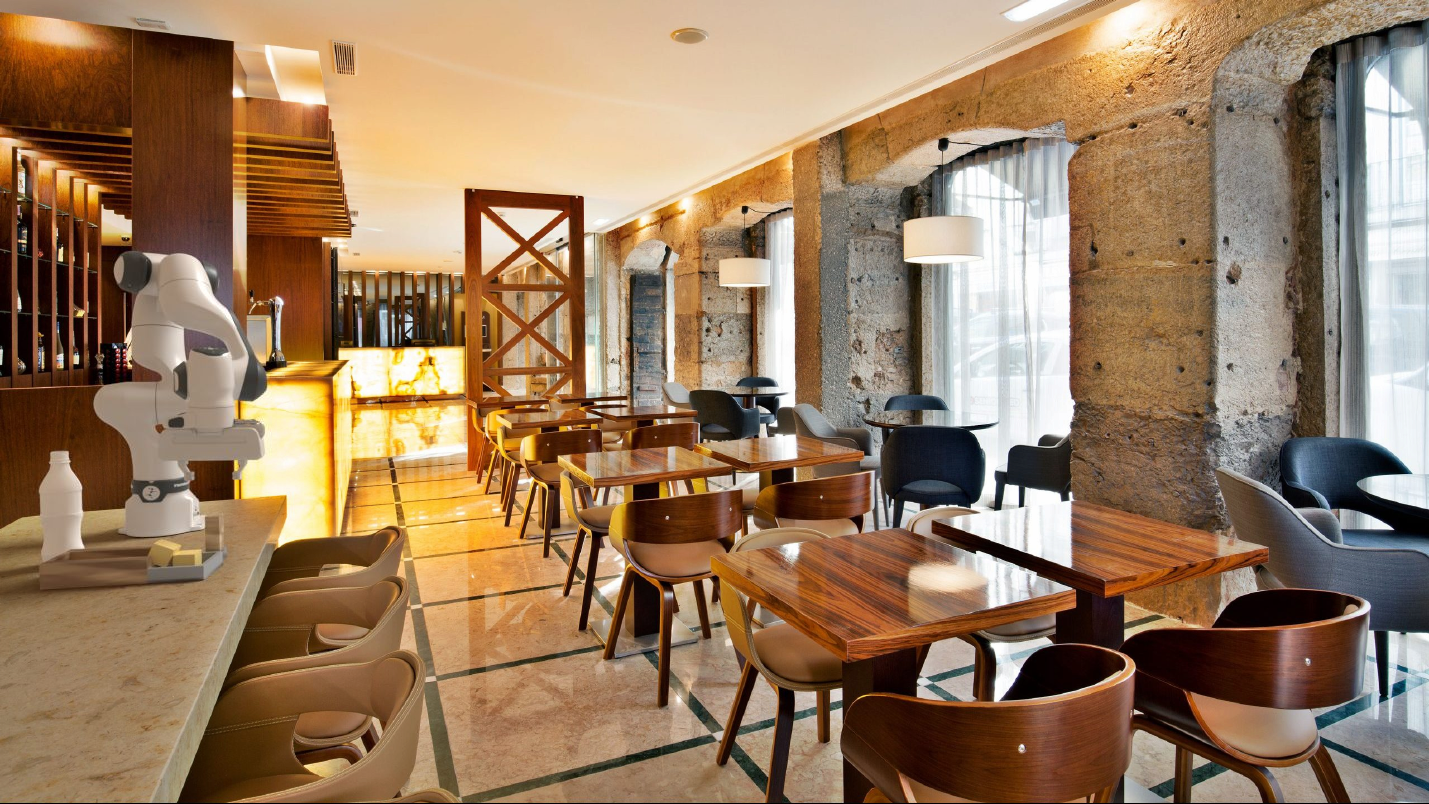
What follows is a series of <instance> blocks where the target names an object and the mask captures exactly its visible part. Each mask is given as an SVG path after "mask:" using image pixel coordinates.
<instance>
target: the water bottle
mask: <svg viewBox="0 0 1429 804" xmlns="http://www.w3.org/2000/svg"><path fill="white" fill-rule="evenodd" d="M49 457H50V459H49V460H50V461H49V462H48V464H49V465H50V466H49V470H48V472H47V473H46V476H45V477H44V478H43V480H42V481H41V483H40V485H39V489H38V494H39V507H40V511H39V512H40V514H39V521H40V524H41V526H42V529H43V542H42V543H43V545H42V548H41V550H40V556H41V561H42V563H44V562H46V561H48V560H50V559H52V558H54V557H56V556H58V555H60V554H62V553H64V552H66V551H68V550H71V549H85V545H84V544H83V540H82V534H81V533H82V532H81V527H82V522H83V518H84V510H83V495H82V494H83V493H82V490H83V486H82V483H81V482H80V480H79V478H78V477H77V475H76V474H75V473H74V472H73V470H72V468H71V466H70V463H71V460H70V458H69V451H67V450H55V451H51V452H50V455H49Z"/></svg>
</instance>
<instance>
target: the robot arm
mask: <svg viewBox="0 0 1429 804" xmlns="http://www.w3.org/2000/svg"><path fill="white" fill-rule="evenodd" d="M113 274H114V278H115V281H116V284H117V286H118V287H119V288H120V289H121V290H123V291H126V292H128V293H131V294H137V296H136V298H135V301H134V306H133V310H132V317H131V357H132V359H133V360H134V362H136V363H137V364H138V365H140V366H141V367H144V368H145V369H149V370H151V371H153V372H156V373H157V374H159V375H160V376H161V380H159V381H123V382H118V383H111V384H106V385H103V386H102V387H100V389H98V390H97V392H96V393H95V396H94V397H93V398H94V399H93V409H94V412H95V414H96V416H97V417H98V418H99V419H100V420H101V421H102V422H103V423H106V424H107V425H109V426H111V427H112V428H113V429H115V430H117V432H119V433H120V435H121V436H122V437H123V438H124V440H125V441H126V443H127V444H128V446H129V449H130V453H131V454H130V455H131V462H132V476H133V477H132V479H131V480H130V481H131V483H130V488H131V489H130V490H131V493H132V495H131V497H129V498H128V499H127V500H126V501H125V505H124V506H125V507H124V526H123V527H120V528H118V530H117V533H118V534H121V535H122V534H123V535H127V536H129V537H136V538H139V537H140V538H144V537H145V538H147V537H148V538H151V537H152V538H153V537H163V536H164V537H165V536H171V535H172V536H173V535H177V534H178V535H179V534H182V533H183V534H184V533H188V532H194V531H200V530H201V531H202V530H203V529H204V530H205V516H207V515H208V514H207V515H206V514H200V500H199V498H197V497H196V495H194V493H193V492H192V491H191V490H190V488H191V487H190V482H191V481H194V480H195V471H191V470H190V469H189V468H188V465H189V461H191V462H193V461H196V462H197V461H199V462H200V461H203V462H204V461H207V462H208V461H237V465H238V466H239V467H238V468H237V470H234V471H233V472H232V475H231V476H232V480H236V481H238V480H242V479H243V471H244V469H245V468H246V466H247V464H248V461H258V460H261V459H262V458H263V457H264V456H265V454H266V453H265V452H266V448H265V442H264V436H265V433H266V429H265V425H264V423H263V422H262V421H259V420H258V419H256V418H253V419H252V418H250V419H243V418H236V403H235V401H237V402H249V403H250V402H251V403H252V402H255V401H256V400H258V399H259V398H260V397H262V395H264V393H266V392H267V389H268V375H267V373H266V370H265V368H264V366H263V365H262V363H261V362H260V361H259V359H258V357H257V355H256V354H255V351H254V350H253V347H252V346H251V343H250V342H249V340H248V338H247V336H246V334H245V331H244V329H243V327H242V325H241V323H240V321H239V319H238V317H237V316H236V314H235V313H234V311H232V310H231V309H229V308H227V307H226V306H224V305H223V304H222V303H221V302H220V301H219V300H218V299H217V298H216V297H215V296H216V294H217V292H218V290H219V284H220V278H219V277H220V276H219V272H218V270H217V268H216V267H215V266H214V264H211V263H208V262H207V261H204V260H198V258H196V257H195V256H192V255H190V254H187V253H171V254H162V253H151V252H142V251H140V250H129V251H125V252H122V253H121V254H120V255H118V257H117V260H116V261H115V263H114V267H113ZM185 329H186V330H191V331H196V332H200V333H203V334H207V335H210V336H212V337H215V338H217V339H219V340H220V341H222V342H223V343H224V344H225V346H226V348H225V347H222V346H213V345H202V346H196V347H192V348H191V349H190V350H189V354H188V355H189V356H188V360H187V357H186V349H185V348H186V347H185ZM157 425H162V427H163V430H162V431H161V432H160V433H159V432H158V430H157V429H156V426H157Z"/></svg>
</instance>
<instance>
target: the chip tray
mask: <svg viewBox="0 0 1429 804" xmlns="http://www.w3.org/2000/svg"><path fill="white" fill-rule="evenodd" d="M201 552H202V564H201V565H193V566H174V567H173V563H172V564H170V565H169V566H168V567H156V568H148V569H147V583H146V584H158V583H162V584H163V583H174V582H175V583H176V582H177V583H178V582H192V581H193V582H194V581H204V580H206V579H207V578H208V577H209V576H210V575H212V574H213V573H215V571H217V570H218V569H219V568H220V567H222V565H223V564H224V562H223V561H224V560H223V553H222V551H214V552H206V551H201Z"/></svg>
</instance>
